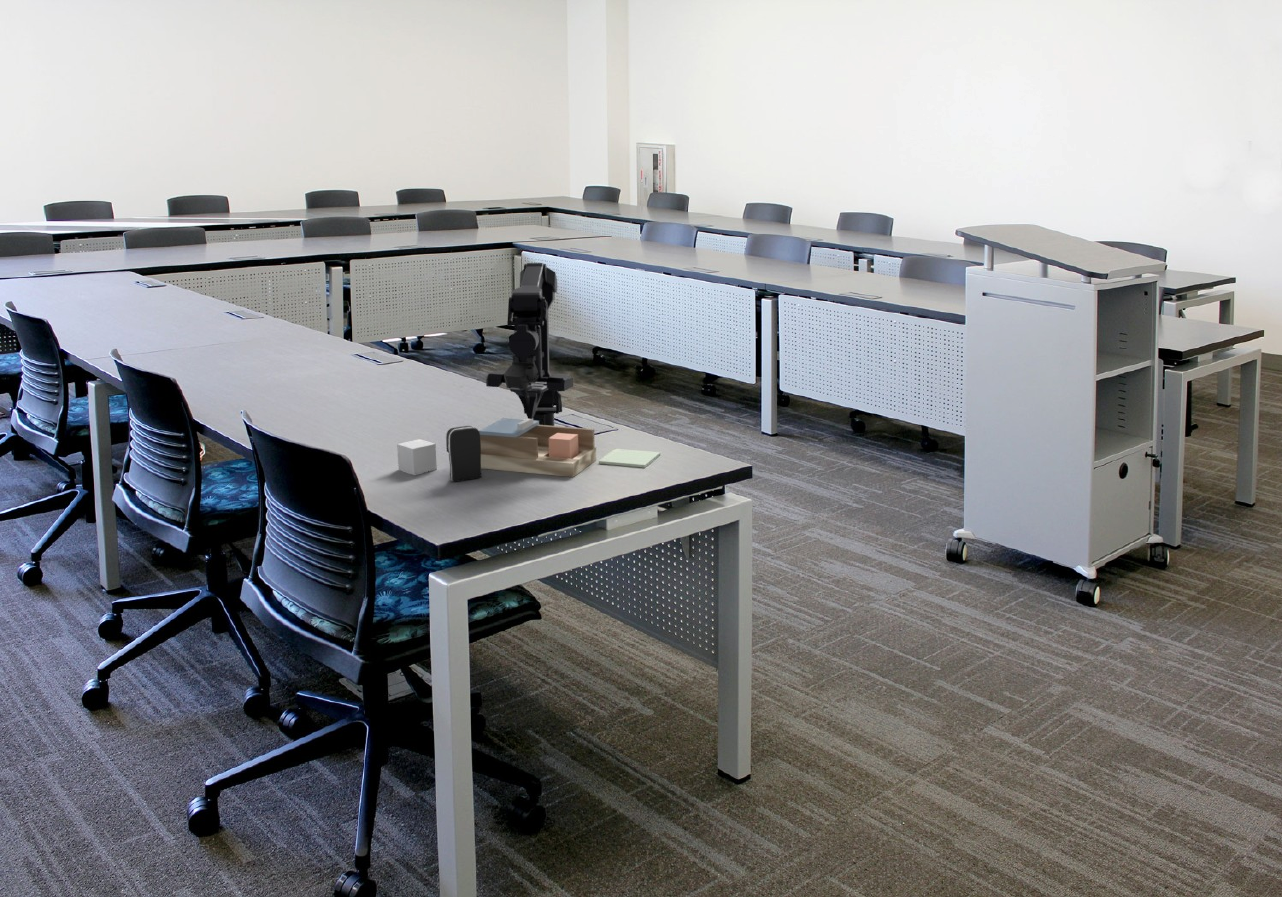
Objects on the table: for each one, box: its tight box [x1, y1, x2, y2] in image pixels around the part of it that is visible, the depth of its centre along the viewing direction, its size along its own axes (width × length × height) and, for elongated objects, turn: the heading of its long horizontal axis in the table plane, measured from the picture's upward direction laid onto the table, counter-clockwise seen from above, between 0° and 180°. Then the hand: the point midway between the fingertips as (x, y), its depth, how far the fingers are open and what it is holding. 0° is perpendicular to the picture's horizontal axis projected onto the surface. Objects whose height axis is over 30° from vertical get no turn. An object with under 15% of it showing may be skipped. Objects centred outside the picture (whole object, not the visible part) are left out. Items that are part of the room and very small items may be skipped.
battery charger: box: [445, 425, 482, 482], centre depth 251 cm, size 7×4×11 cm, turn 120°
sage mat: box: [598, 448, 661, 469], centre depth 266 cm, size 11×11×1 cm
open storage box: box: [480, 425, 597, 478], centre depth 262 cm, size 14×24×8 cm, turn 71°
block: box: [549, 433, 579, 459], centre depth 260 cm, size 5×5×7 cm
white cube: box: [396, 438, 438, 476], centre depth 258 cm, size 6×6×6 cm
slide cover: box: [479, 417, 539, 437], centre depth 263 cm, size 12×9×2 cm
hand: (530, 418), depth 260 cm, fingers closed
